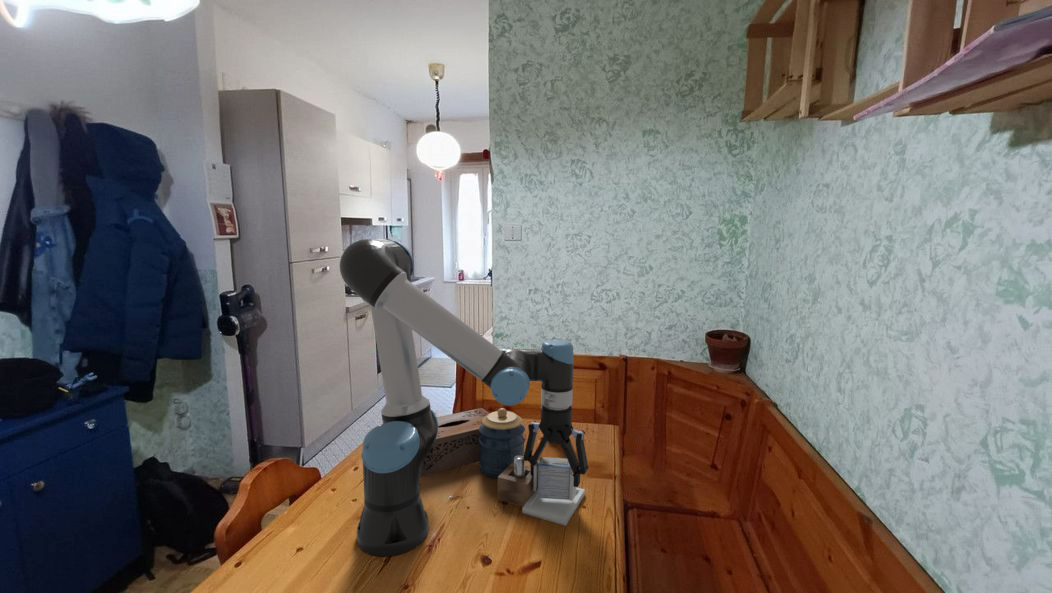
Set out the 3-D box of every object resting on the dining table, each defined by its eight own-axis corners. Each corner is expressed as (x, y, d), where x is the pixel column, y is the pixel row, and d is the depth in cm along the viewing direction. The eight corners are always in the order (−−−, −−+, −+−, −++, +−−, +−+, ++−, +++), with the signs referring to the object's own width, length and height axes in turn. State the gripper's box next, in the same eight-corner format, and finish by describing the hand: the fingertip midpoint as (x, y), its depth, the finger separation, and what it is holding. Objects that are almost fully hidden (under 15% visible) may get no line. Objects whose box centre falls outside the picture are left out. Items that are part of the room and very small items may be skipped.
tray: (522, 513, 108) (522, 507, 108) (544, 484, 121) (544, 479, 120) (565, 525, 103) (566, 519, 103) (584, 494, 116) (584, 489, 116)
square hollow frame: (497, 499, 114) (497, 477, 113) (512, 484, 121) (512, 462, 120) (526, 507, 110) (527, 484, 109) (539, 491, 117) (540, 469, 117)
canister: (496, 485, 120) (496, 421, 118) (470, 465, 130) (469, 406, 128) (533, 469, 128) (534, 409, 126) (506, 452, 138) (506, 397, 136)
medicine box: (570, 490, 114) (571, 458, 112) (570, 501, 109) (571, 467, 108) (539, 488, 114) (539, 456, 113) (537, 498, 110) (538, 465, 109)
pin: (511, 496, 115) (511, 459, 114) (516, 491, 117) (517, 454, 116) (521, 499, 114) (521, 461, 112) (526, 493, 116) (526, 456, 115)
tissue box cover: (481, 436, 150) (481, 407, 149) (503, 454, 138) (503, 423, 136) (404, 455, 136) (403, 424, 135) (420, 477, 124) (420, 442, 123)
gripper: (509, 402, 110) (508, 490, 113) (595, 418, 101) (592, 512, 104) (522, 393, 117) (521, 475, 119) (604, 407, 108) (601, 496, 111)
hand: (554, 493), depth 112 cm, fingers closed on medicine box, 9 cm apart
